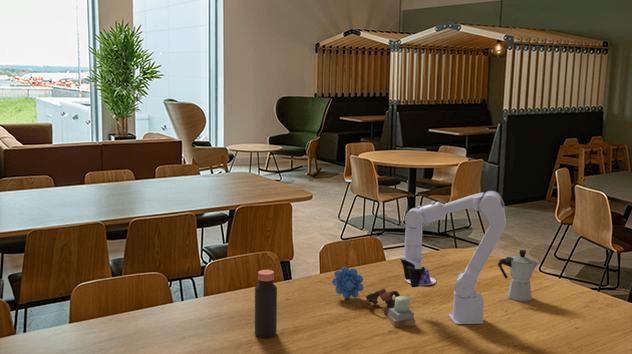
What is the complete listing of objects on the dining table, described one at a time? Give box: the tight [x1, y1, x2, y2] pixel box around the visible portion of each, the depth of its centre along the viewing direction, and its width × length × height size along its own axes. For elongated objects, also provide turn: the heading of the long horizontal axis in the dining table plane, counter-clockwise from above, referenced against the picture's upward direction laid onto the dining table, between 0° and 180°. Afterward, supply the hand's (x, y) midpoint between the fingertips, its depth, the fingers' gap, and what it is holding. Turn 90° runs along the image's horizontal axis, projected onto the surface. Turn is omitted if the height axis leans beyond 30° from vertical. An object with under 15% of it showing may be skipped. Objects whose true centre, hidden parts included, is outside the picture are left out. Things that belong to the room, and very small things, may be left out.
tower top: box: [389, 307, 415, 321], centre depth 214 cm, size 6×6×2 cm
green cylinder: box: [394, 295, 411, 313], centre depth 214 cm, size 5×5×4 cm
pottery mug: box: [365, 288, 401, 315], centre depth 226 cm, size 12×10×8 cm
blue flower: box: [331, 266, 364, 299], centre depth 233 cm, size 12×7×12 cm, turn 101°
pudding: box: [404, 267, 437, 286], centre depth 255 cm, size 12×12×5 cm
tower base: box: [387, 313, 416, 328], centre depth 214 cm, size 7×7×2 cm
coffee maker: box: [497, 249, 541, 303], centre depth 238 cm, size 15×9×18 cm, turn 84°
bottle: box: [254, 269, 278, 339], centre depth 201 cm, size 7×7×20 cm
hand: (411, 283), depth 221 cm, fingers open, 7 cm apart
